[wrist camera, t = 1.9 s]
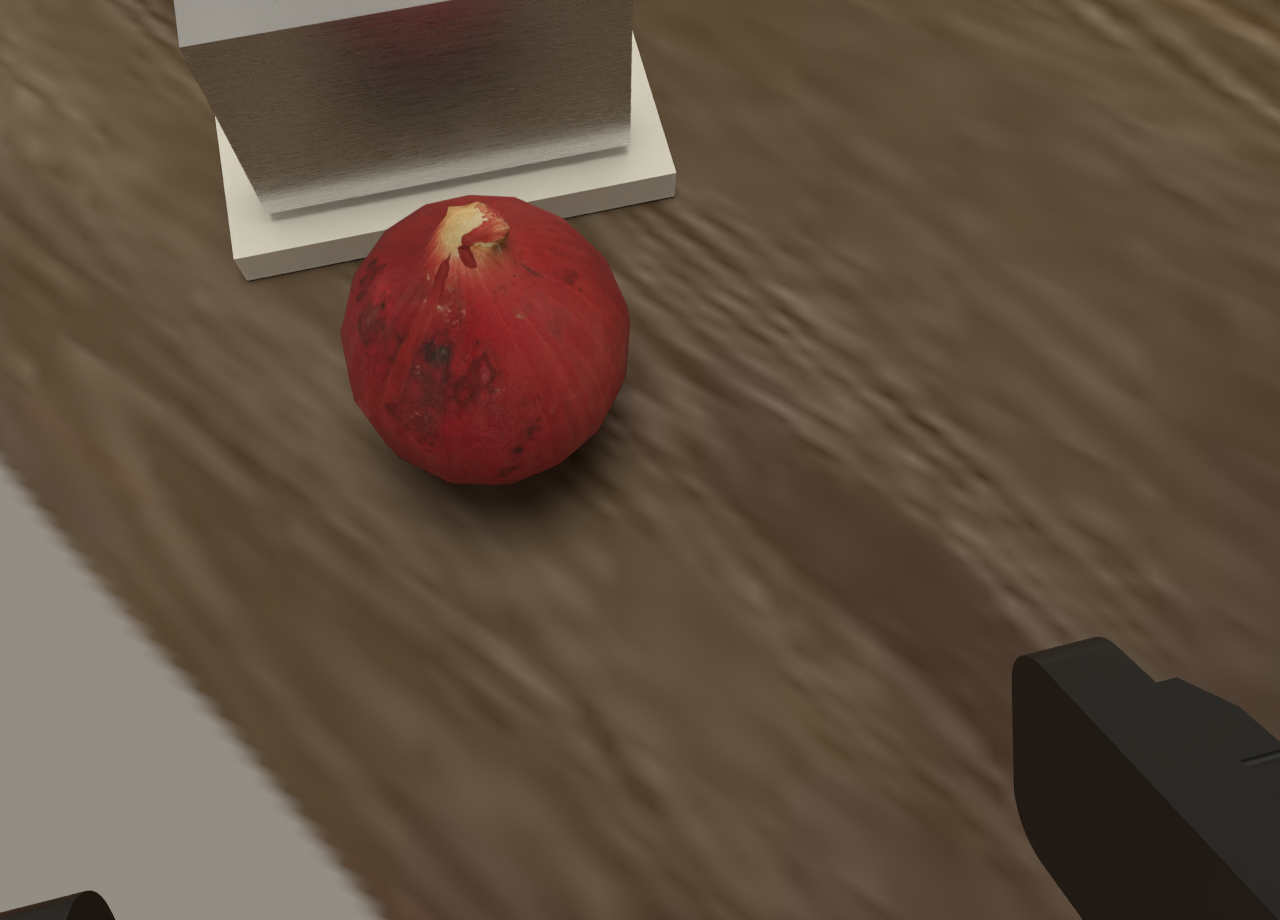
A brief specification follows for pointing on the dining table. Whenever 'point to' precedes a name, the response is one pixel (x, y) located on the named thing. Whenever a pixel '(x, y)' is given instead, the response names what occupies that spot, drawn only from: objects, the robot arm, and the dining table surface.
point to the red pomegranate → (485, 339)
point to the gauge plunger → (406, 88)
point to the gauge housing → (448, 196)
